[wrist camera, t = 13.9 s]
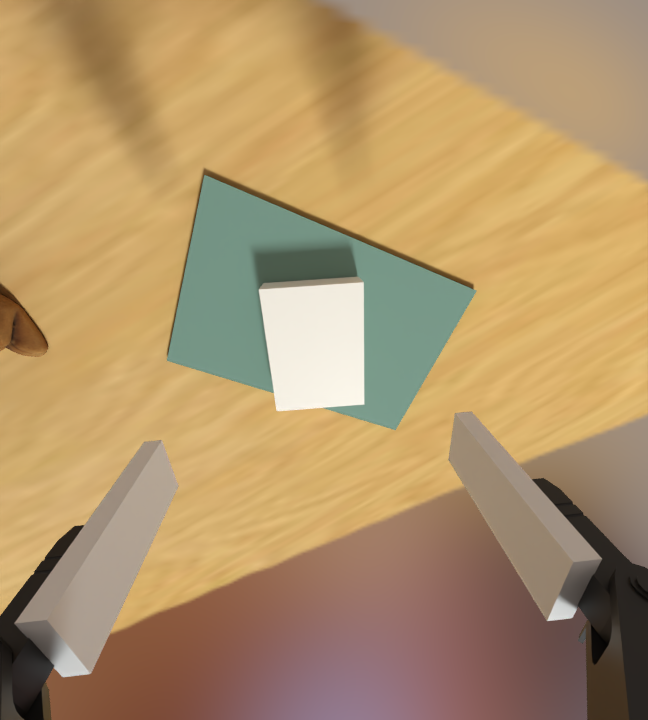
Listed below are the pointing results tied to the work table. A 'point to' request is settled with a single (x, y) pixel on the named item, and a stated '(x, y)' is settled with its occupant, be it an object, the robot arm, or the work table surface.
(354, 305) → the card box
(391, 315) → the mat
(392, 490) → the work table surface
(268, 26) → the work table surface
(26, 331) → the stuffed squirrel
